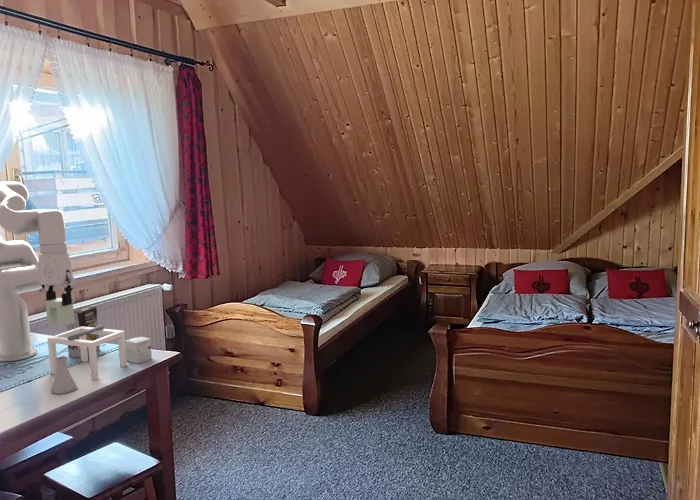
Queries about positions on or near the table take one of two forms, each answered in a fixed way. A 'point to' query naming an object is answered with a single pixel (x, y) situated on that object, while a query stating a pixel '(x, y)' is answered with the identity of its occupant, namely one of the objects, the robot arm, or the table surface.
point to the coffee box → (85, 319)
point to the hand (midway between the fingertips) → (59, 304)
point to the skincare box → (138, 349)
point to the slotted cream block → (59, 313)
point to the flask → (62, 378)
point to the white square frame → (87, 345)
